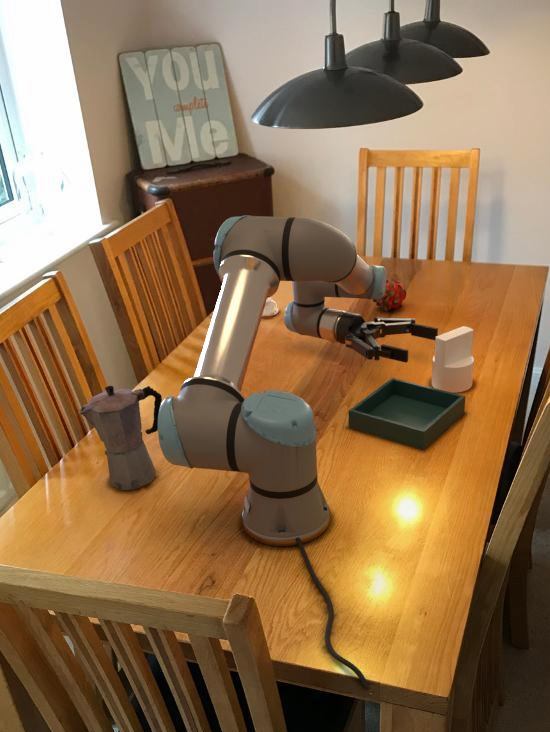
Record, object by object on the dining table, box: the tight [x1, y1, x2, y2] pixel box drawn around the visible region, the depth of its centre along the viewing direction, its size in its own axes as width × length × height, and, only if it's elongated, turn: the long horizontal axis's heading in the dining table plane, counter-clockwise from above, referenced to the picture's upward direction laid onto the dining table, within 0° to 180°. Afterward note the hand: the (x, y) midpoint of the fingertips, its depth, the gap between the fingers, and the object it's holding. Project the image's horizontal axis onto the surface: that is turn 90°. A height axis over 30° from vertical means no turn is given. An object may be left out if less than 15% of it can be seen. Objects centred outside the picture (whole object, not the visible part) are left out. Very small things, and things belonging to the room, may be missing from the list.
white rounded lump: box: [262, 296, 279, 317], centre depth 228 cm, size 8×7×5 cm
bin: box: [347, 377, 466, 451], centre depth 174 cm, size 18×18×4 cm
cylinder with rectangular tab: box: [431, 325, 475, 394], centre depth 184 cm, size 9×9×12 cm
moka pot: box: [78, 385, 163, 491], centre depth 157 cm, size 10×15×20 cm, turn 117°
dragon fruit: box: [372, 278, 407, 312], centre depth 225 cm, size 8×8×12 cm
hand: (422, 345), depth 188 cm, fingers open, 13 cm apart
